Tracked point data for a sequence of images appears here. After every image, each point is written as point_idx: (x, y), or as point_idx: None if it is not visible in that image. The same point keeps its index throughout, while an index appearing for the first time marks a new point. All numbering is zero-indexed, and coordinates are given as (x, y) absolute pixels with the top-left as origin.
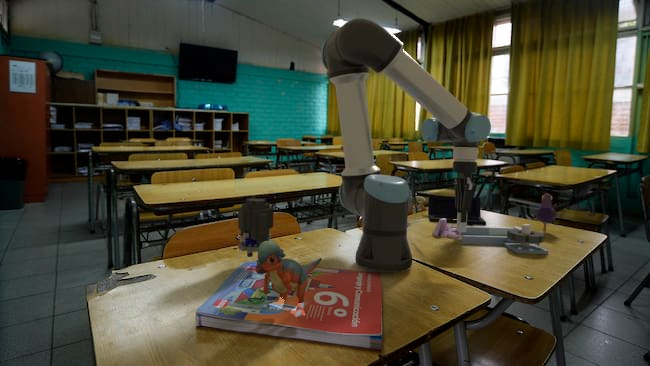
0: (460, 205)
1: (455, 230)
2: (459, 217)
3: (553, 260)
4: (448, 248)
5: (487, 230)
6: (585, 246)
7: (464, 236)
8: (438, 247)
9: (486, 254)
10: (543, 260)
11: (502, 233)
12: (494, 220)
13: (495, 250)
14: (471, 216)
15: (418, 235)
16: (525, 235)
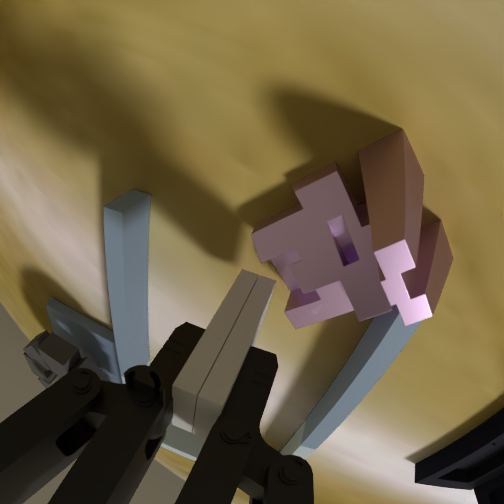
0: (116, 445)
1: (300, 287)
2: (194, 351)
3: (30, 321)
4: (66, 73)
5: (304, 432)
6: (160, 458)
7: (104, 215)
8: (81, 27)
9: (21, 193)
10: (22, 302)
11: (286, 447)
12: (458, 496)
13: (64, 261)
14: (498, 477)
15: (394, 10)
16: (28, 355)
